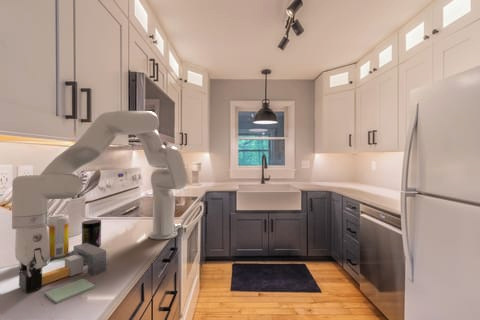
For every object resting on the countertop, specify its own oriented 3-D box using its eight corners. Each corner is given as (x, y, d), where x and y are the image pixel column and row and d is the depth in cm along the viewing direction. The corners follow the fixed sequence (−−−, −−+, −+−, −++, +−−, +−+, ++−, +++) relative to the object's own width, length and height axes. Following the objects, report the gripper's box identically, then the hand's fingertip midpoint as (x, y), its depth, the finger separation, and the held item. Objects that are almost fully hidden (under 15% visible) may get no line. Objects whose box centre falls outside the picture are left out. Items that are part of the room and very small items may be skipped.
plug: (77, 268, 77) (77, 254, 76) (83, 271, 74) (83, 257, 74) (19, 287, 65) (19, 271, 65) (25, 292, 62) (25, 275, 62)
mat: (82, 280, 70) (82, 278, 70) (94, 287, 66) (95, 285, 66) (45, 294, 62) (45, 292, 62) (56, 303, 58) (56, 301, 58)
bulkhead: (86, 261, 83) (86, 242, 83) (106, 270, 76) (106, 250, 76) (73, 265, 79) (73, 246, 79) (92, 275, 72) (93, 254, 72)
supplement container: (95, 250, 93) (96, 223, 93) (77, 250, 92) (77, 223, 92) (104, 244, 100) (104, 219, 100) (87, 244, 99) (87, 219, 99)
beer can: (65, 251, 91) (65, 212, 91) (70, 255, 88) (70, 214, 88) (45, 256, 87) (46, 215, 87) (50, 260, 83) (50, 217, 83)
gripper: (60, 221, 64) (59, 290, 63) (36, 213, 73) (36, 273, 73) (23, 228, 57) (22, 304, 57) (2, 218, 66) (2, 284, 66)
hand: (30, 286), depth 65 cm, fingers closed on plug, 4 cm apart
